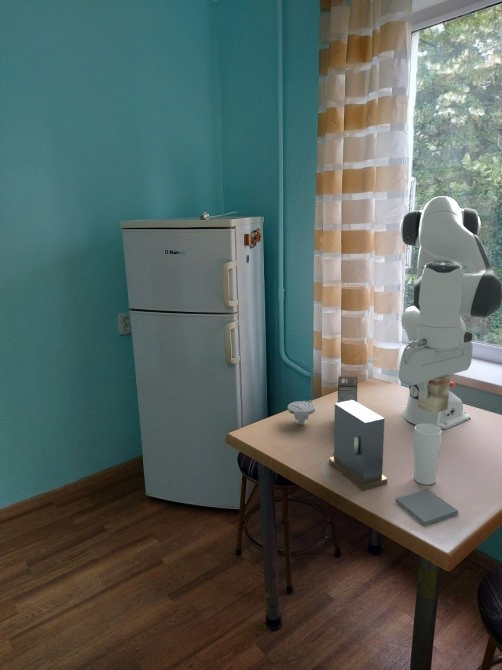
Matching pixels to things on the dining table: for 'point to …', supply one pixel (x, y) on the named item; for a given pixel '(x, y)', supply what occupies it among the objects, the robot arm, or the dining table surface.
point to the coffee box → (347, 389)
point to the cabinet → (358, 444)
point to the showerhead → (301, 410)
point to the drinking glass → (426, 452)
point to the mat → (426, 506)
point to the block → (436, 395)
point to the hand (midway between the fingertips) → (433, 395)
